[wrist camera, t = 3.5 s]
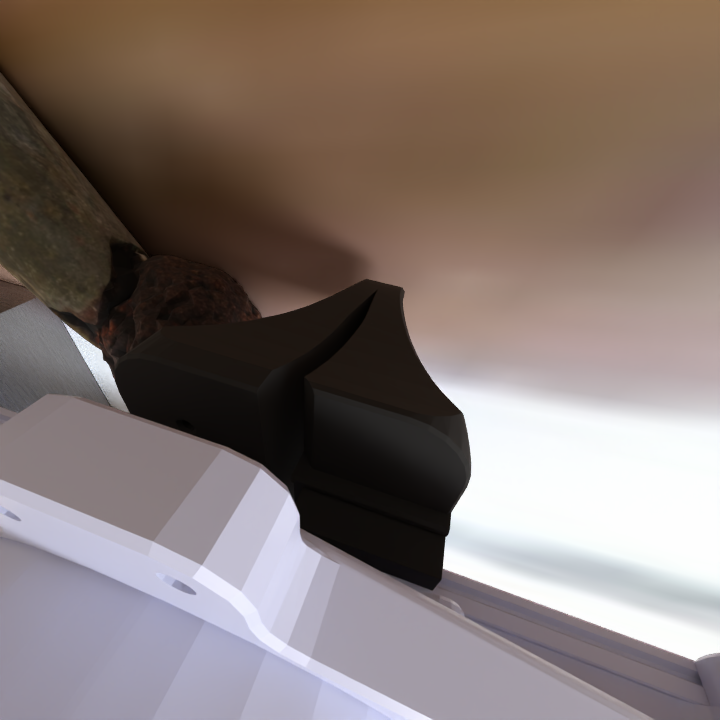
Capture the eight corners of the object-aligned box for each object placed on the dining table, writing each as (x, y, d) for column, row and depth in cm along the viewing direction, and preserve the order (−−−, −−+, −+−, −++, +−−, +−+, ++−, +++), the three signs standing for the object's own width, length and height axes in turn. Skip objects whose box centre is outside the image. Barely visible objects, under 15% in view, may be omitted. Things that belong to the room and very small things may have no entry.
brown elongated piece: (-38, 106, 13) (-294, 106, 9) (5, -53, 10) (-384, -184, 5) (253, 416, 20) (191, 500, 16) (339, 389, 17) (289, 489, 12)
